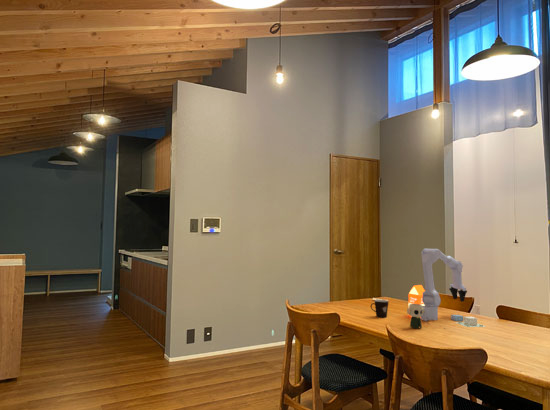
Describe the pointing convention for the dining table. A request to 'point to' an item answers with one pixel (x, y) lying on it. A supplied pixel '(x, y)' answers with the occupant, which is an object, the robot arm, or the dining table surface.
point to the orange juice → (416, 295)
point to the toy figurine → (415, 315)
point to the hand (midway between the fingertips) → (458, 300)
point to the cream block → (470, 321)
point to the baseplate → (469, 325)
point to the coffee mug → (381, 308)
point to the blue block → (457, 317)
